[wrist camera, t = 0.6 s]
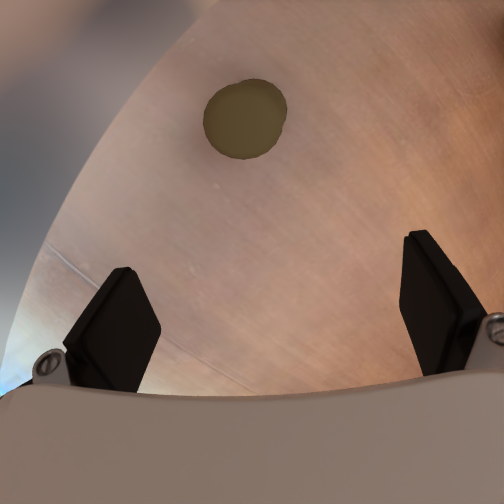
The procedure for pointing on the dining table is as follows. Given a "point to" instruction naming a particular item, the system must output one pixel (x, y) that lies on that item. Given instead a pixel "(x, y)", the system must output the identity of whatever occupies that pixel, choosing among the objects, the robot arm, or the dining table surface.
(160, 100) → the dining table surface
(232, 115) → the olive pawn
